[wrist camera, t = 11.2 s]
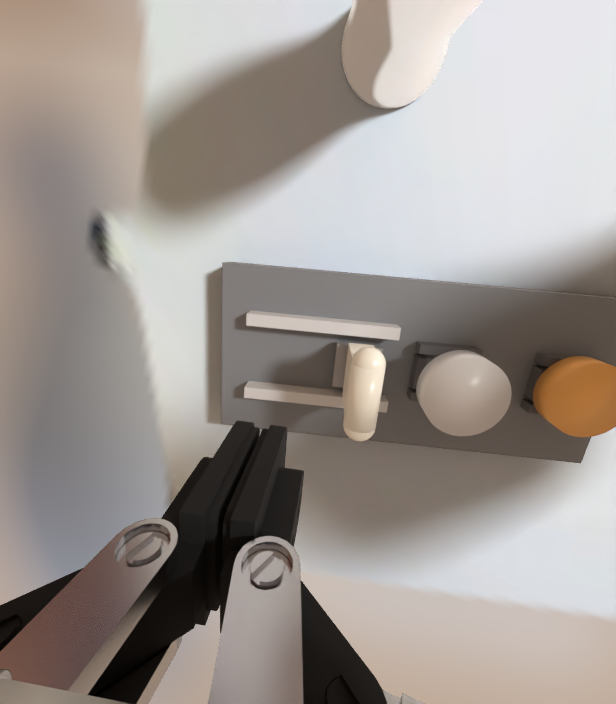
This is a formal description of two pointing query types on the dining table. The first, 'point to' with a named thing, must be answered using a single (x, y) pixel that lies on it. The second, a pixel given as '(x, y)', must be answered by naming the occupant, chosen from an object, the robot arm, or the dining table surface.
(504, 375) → the white rounded thick disc
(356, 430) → the lever
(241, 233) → the dining table surface
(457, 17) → the tall white cup
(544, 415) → the orange button
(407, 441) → the panel
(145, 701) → the robot arm
